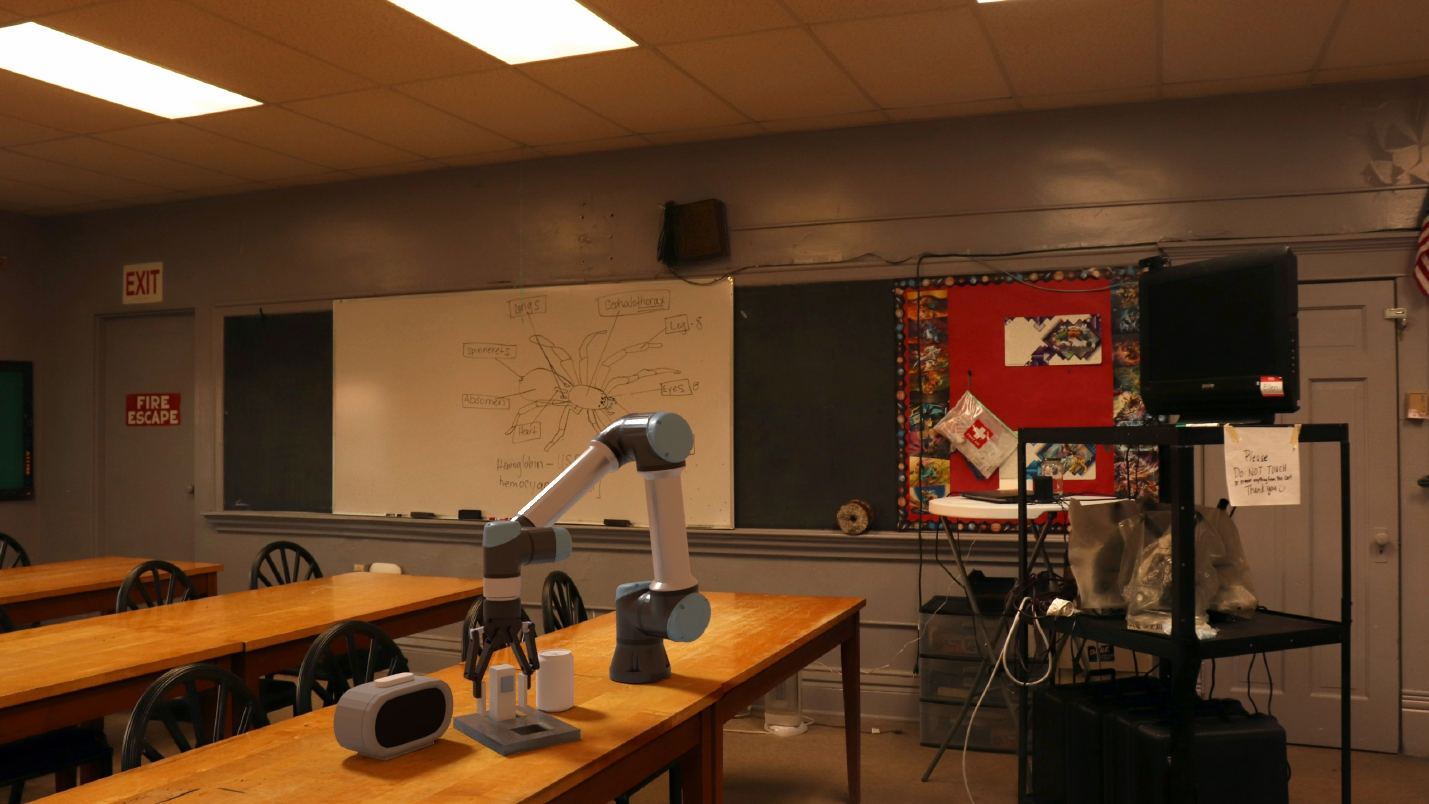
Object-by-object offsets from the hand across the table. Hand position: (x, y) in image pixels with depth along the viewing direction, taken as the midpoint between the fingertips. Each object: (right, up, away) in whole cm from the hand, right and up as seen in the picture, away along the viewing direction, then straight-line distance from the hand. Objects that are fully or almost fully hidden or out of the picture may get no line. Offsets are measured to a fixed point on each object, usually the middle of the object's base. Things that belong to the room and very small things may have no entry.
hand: (502, 710), depth 200 cm
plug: (0, -3, 0) cm, 3 cm away
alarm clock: (-17, -3, -14) cm, 22 cm away
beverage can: (+9, -4, +14) cm, 17 cm away
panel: (+4, -3, -5) cm, 7 cm away
